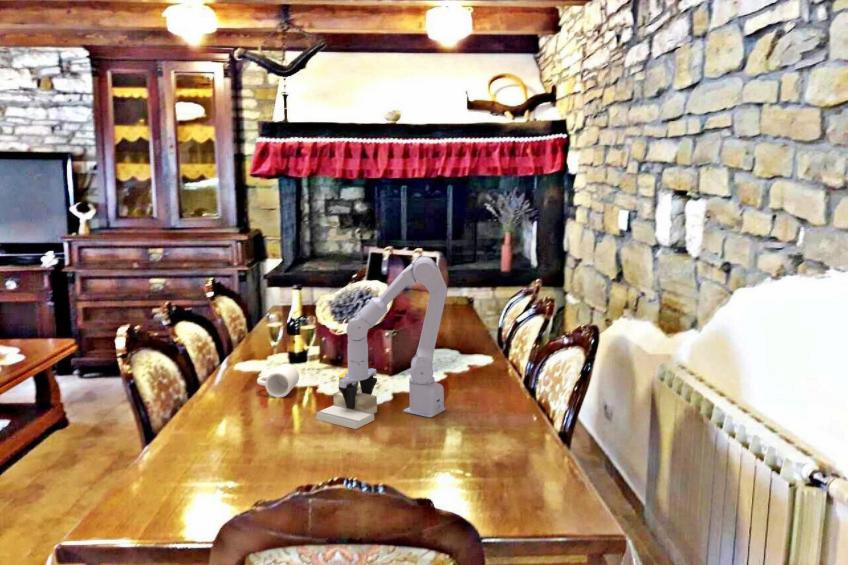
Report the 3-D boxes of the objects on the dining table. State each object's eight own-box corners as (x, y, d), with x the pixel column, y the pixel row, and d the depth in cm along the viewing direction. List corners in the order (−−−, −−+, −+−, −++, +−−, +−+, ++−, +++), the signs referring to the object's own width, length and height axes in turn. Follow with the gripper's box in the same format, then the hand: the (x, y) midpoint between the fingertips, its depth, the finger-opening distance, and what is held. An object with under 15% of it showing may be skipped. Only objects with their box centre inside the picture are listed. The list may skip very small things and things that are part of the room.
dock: (374, 420, 197) (373, 413, 196) (355, 429, 190) (355, 421, 190) (335, 411, 204) (335, 404, 204) (316, 419, 198) (316, 412, 198)
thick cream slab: (377, 412, 203) (376, 396, 203) (365, 418, 199) (365, 400, 199) (345, 405, 210) (344, 389, 209) (333, 410, 206) (333, 393, 205)
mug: (299, 388, 226) (298, 363, 225) (290, 398, 217) (289, 372, 215) (263, 387, 228) (261, 363, 226) (252, 397, 218) (251, 372, 216)
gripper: (362, 352, 210) (363, 396, 212) (330, 363, 198) (331, 410, 200) (381, 355, 206) (382, 400, 208) (349, 367, 194) (350, 414, 196)
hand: (358, 405), depth 204 cm, fingers open, 6 cm apart
